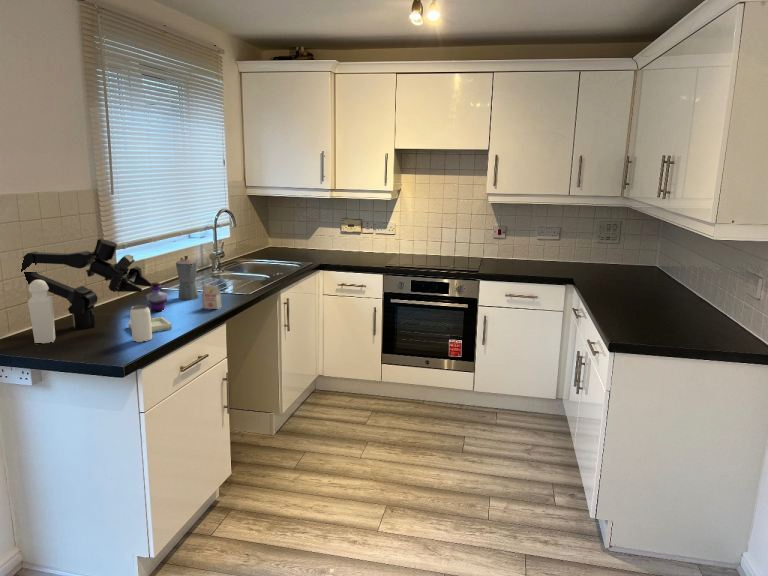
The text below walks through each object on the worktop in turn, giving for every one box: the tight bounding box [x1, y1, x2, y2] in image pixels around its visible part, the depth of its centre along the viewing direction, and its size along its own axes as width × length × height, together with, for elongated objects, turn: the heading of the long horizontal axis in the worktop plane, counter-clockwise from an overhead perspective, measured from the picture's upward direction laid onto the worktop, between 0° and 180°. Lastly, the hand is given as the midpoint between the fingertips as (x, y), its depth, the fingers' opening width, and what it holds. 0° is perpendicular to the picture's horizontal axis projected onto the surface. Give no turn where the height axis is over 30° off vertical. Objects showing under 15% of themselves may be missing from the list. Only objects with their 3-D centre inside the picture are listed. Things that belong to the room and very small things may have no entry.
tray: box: [128, 316, 173, 333], centre depth 215 cm, size 12×12×2 cm
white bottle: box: [27, 280, 56, 344], centre depth 196 cm, size 6×6×22 cm
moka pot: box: [175, 255, 200, 301], centre depth 262 cm, size 10×15×20 cm, turn 41°
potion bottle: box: [145, 281, 169, 312], centre depth 240 cm, size 9×9×12 cm
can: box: [129, 304, 153, 343], centre depth 199 cm, size 6×6×12 cm
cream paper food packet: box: [201, 284, 223, 310], centre depth 244 cm, size 4×7×10 cm, turn 75°
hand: (146, 288), depth 213 cm, fingers open, 9 cm apart
